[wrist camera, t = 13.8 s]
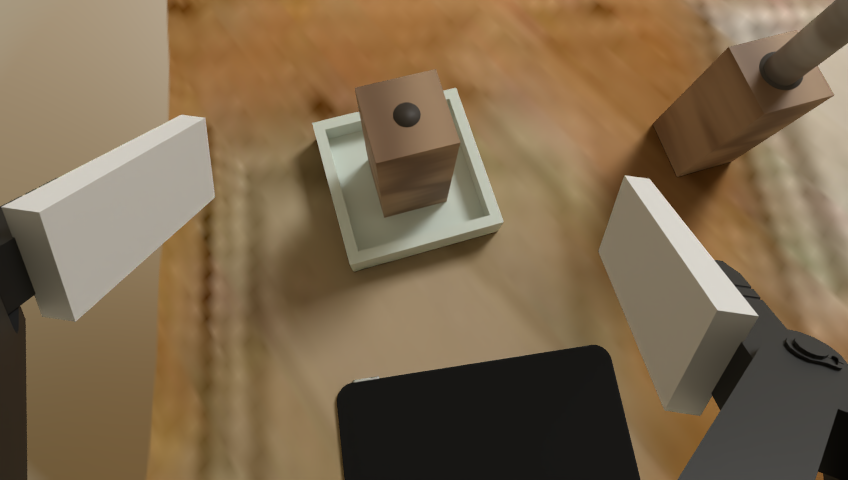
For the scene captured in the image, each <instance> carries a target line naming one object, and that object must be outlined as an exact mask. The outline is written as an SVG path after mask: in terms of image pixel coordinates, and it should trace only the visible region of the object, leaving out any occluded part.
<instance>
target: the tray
mask: <svg viewBox="0 0 848 480" xmlns="http://www.w3.org/2000/svg"><path fill="white" fill-rule="evenodd" d="M443 92H444V95H445V98H446V101H447V104H448V107H449V110H450V113H451V116H452V119H453V122H454V125H455V128H456V131H457V134H458V137H459V140H460V146H459V150H458V155H457V159H456V163H455V168H454V172H453V176H452V181H451V185H450V189H449V194H448V198H447V201H446V202H443V203H439V204H435V205H431V206H427V207H424V208H420V209H416V210H412V211H408V212H404V213H401V214H397V215H393V216H389V217H385V218H384V215H383V212H382V208H381V205H380V201H379V197H378V194H377V190H376V187H375V183H374V179H373V176H372V172H371V169H370V165H369V161H368V157H367V152H366V146H365V141H364V135H363V130H362V125H361V119H360V114H359V112H355V113H351V114H347V115H343V116H339V117H335V118H331V119H327V120H323V121H319V122H315V123H312V124H313V128H314V131H315V135H316V139H317V143H318V147H319V150H320V154H321V158H322V162H323V165H324V169H325V173H326V177H327V181H328V184H329V188H330V192H331V196H332V199H333V203H334V207H335V211H336V215H337V218H338V222H339V226H340V230H341V234H342V237H343V241H344V245H345V249H346V252H347V256H348V260H349V264H350V266H351V268H352V270H353V272H355V271H358V270H362V269H365V268H369V267H373V266H376V265H380V264H383V263H387V262H390V261H394V260H397V259H401V258H405V257H408V256H412V255H415V254H419V253H422V252H426V251H429V250H433V249H436V248H440V247H444V246H447V245H451V244H454V243H458V242H461V241H465V240H468V239H472V238H475V237H479V236H483V235H486V234H490V233H493V232H497V231H498V230H499V229H500V227H501V225H502V224H503V219H502V216H501V213H500V210H499V207H498V205H497V202H496V199H495V196H494V193H493V191H492V188H491V185H490V182H489V179H488V176H487V174H486V171H485V168H484V165H483V162H482V160H481V157H480V154H479V151H478V148H477V145H476V143H475V140H474V137H473V134H472V131H471V129H470V126H469V123H468V120H467V117H466V114H465V112H464V109H463V106H462V103H461V100H460V98H459V95H458V92H457V89H456V88H453V89H449V90H445V91H443Z"/></svg>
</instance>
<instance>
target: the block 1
mask: <svg viewBox="0 0 848 480" xmlns="http://www.w3.org/2000/svg"><path fill="white" fill-rule="evenodd" d="M355 92H356V98H357V103H358V108H359V114H360V119H361V125H362V130H363V135H364V141H365V146H366V152H367V157H368V161H369V165H370V169H371V172H372V176H373V179H374V183H375V187H376V190H377V194H378V197H379V201H380V205H381V208H382V212H383V215H384V218H385V217H389V216H393V215H397V214H401V213H404V212H408V211H412V210H416V209H420V208H424V207H427V206H431V205H435V204H439V203H443V202H446V201H447V198H448V194H449V189H450V185H451V181H452V176H453V172H454V168H455V163H456V159H457V155H458V150H459V146H460V140H459V137H458V134H457V131H456V128H455V125H454V122H453V119H452V116H451V113H450V110H449V107H448V104H447V101H446V98H445V95H444V92H443V89H442V86H441V83H440V80H439V77H438V74H437V71H436V69H434V70H430V71H426V72H421V73H417V74H413V75H408V76H404V77H400V78H395V79H391V80H387V81H382V82H378V83H374V84H370V85H365V86H361V87H357V88H355Z"/></svg>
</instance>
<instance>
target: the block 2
mask: <svg viewBox="0 0 848 480" xmlns="http://www.w3.org/2000/svg"><path fill="white" fill-rule="evenodd" d="M847 43H848V0H835V1H834V2H833V3H832V4H831V5H830V6H828V7H827V8H826V9H825V10H824V11H823V12H821V13H820V14H819V15H818V16H817V17H816V18H815V19H813V20H812V21H811V22H810V23H809V24H808V25H806V26H805V27H804V28H803V29H802V30H801V31H800V32H798V31H797V30H794V31H790V32H786V33H782V34H778V35H775V36H771V37H767V38H763V39H759V40H755V41H751V42H747V43H743V44H739V45H735V46H731V47H728V48H727V49H726V50H725V51H724V52H723V53H722V54H721V55H720V56H719V57H718V58H717V59H716V60H715V62H714V63H713V64H712V65H711V66H710V67H709V68H708V69H707V70H706V71H705V72H704V73H703V74H702V75H701V76H700V77H699V78H698V79H697V80H696V81H695V82H694V83H693V84H692V85H691V86H690V87H689V88H688V89H687V90H686V91H685V92H684V93H683V94H682V95H681V96H680V97H679V98H678V99H677V100H676V101H675V102H674V103H673V104H672V105H671V106H670V107H669V108H668V109H667V110H666V111H665V112H664V113H663V114H662V115H661V116H660V117H659V118H658V119H657V120H656V121H655V122H654V123H653V126H654V128H655V130H656V132H657V134H658V136H659V139H660V141H661V143H662V145H663V147H664V150H665V152H666V154H667V156H668V158H669V160H670V163H671V165H672V167H673V169H674V171H675V173H676V176H677V177H679V176H682V175H686V174H689V173H693V172H697V171H700V170H704V169H707V168H711V167H714V166H718V165H721V164H725V163H729V162H732V161H733V160H735V159H736V158H738V157H739V156H741V155H743V154H744V153H746V152H747V151H749V150H750V149H752V148H753V147H755V146H756V145H758V144H760V143H761V142H763V141H764V140H766V139H767V138H769V137H770V136H772V135H773V134H775V133H777V132H778V131H780V130H781V129H783V128H784V127H786V126H787V125H789V124H790V123H792V122H794V121H795V120H797V119H798V118H800V117H801V116H803V115H804V114H806V113H807V112H809V111H811V110H812V109H814V108H815V107H817V106H818V105H820V104H821V103H823V102H824V101H826V100H828V99H829V98H831V97H832V96H834V94H833V92H832V90H831V88H830V87H829V85H828V83H827V81H826V80H825V78H824V76H823V74H822V73H821V71H820V69H819V67H818V65H819V64H820V63H822V62H823V61H824V60H826V59H827V58H828V57H830V56H831V55H832V54H834V53H835V52H836V51H838V50H839V49H840V48H842V47H843V46H844V45H846V44H847Z"/></svg>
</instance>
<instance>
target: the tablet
mask: <svg viewBox="0 0 848 480" xmlns="http://www.w3.org/2000/svg"><path fill="white" fill-rule="evenodd" d="M337 408H338V418H339V428H340V438H341V448H342V457H343V467H344V477H345V480H640V476H639V472H638V467H637V463H636V459H635V455H634V451H633V447H632V443H631V438H630V434H629V430H628V426H627V422H626V418H625V413H624V409H623V405H622V401H621V397H620V393H619V389H618V384H617V380H616V376H615V372H614V368H613V364H612V360H611V357H610V355H609V353H608V352H607V351H606V350H605V349H604V348H603V347H601V346H598V345H588V346H582V347H576V348H569V349H563V350H557V351H550V352H544V353H538V354H531V355H525V356H519V357H512V358H506V359H499V360H493V361H487V362H480V363H474V364H468V365H461V366H455V367H449V368H442V369H436V370H429V371H423V372H417V373H410V374H404V375H398V376H391V377H385V378H379V376H377V377H371V378H364V379H358V380H353V383H349V384H347V385H346V386H344V387H343V388H342V389H341V391H340V392H339V394H338V397H337Z"/></svg>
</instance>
